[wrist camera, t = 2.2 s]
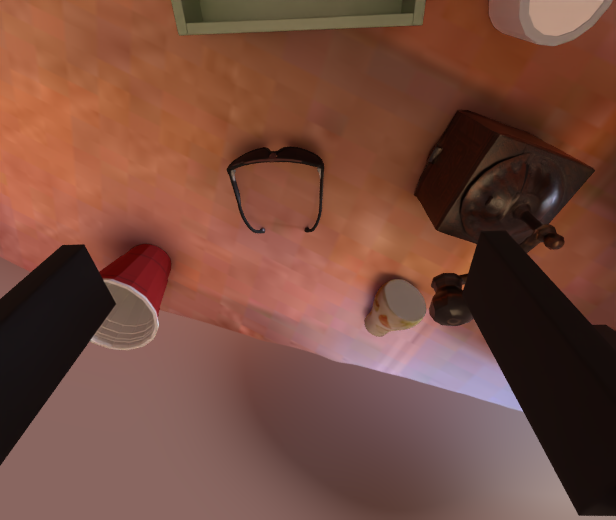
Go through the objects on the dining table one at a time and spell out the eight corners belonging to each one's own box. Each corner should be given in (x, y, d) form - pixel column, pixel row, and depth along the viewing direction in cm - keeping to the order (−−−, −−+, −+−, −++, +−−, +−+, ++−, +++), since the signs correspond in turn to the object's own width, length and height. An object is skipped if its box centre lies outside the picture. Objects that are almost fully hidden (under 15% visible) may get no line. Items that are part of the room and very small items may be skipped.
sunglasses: (323, 137, 36) (324, 157, 33) (324, 223, 45) (324, 247, 41) (229, 140, 37) (220, 160, 33) (247, 224, 45) (241, 248, 41)
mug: (350, 317, 53) (357, 338, 43) (380, 266, 52) (395, 275, 43) (389, 340, 54) (406, 365, 44) (420, 289, 53) (445, 303, 43)
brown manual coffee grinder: (453, 103, 34) (553, 162, 20) (542, 137, 36) (695, 214, 21) (388, 226, 43) (424, 329, 28) (462, 248, 45) (532, 356, 30)
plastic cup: (192, 237, 45) (157, 296, 35) (187, 294, 51) (156, 357, 41) (109, 217, 43) (49, 273, 34) (114, 278, 49) (64, 340, 40)
